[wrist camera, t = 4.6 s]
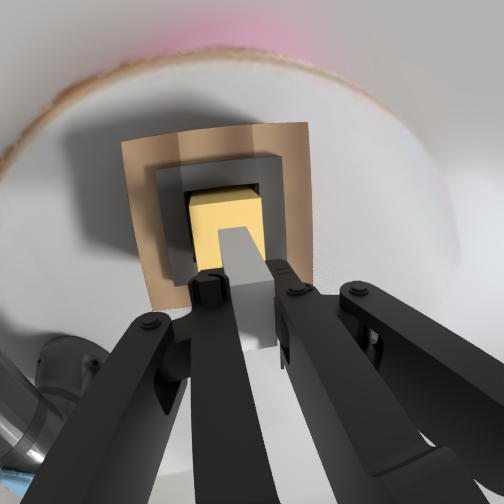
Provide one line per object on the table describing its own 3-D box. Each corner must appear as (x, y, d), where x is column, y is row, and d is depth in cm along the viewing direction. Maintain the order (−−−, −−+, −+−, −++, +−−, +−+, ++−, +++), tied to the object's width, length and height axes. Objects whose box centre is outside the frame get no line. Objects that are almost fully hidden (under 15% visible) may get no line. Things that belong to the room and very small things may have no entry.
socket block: (164, 266, 33) (151, 317, 23) (145, 143, 29) (117, 142, 18) (284, 250, 35) (316, 293, 25) (276, 128, 30) (312, 121, 20)
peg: (199, 233, 28) (198, 273, 19) (193, 186, 26) (188, 206, 18) (246, 227, 28) (265, 264, 20) (242, 181, 26) (261, 197, 18)
